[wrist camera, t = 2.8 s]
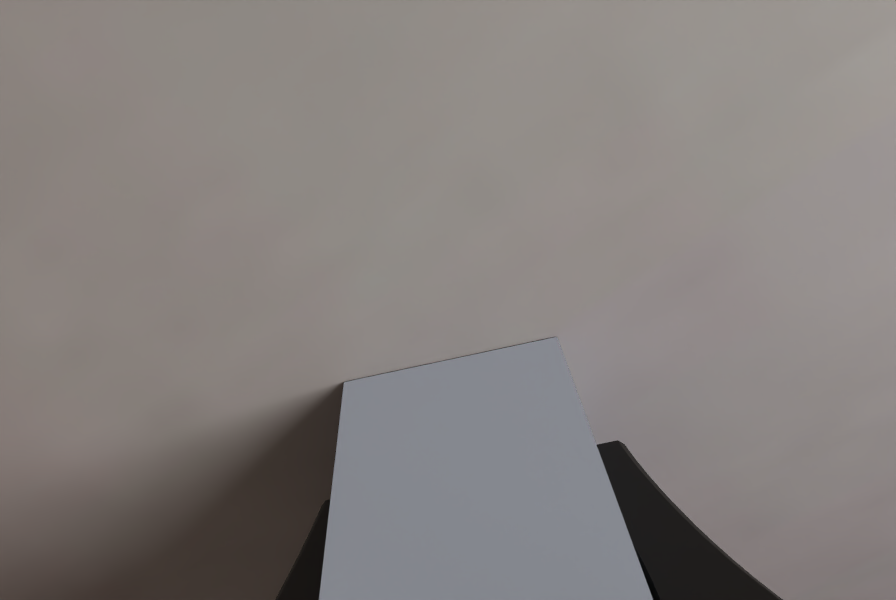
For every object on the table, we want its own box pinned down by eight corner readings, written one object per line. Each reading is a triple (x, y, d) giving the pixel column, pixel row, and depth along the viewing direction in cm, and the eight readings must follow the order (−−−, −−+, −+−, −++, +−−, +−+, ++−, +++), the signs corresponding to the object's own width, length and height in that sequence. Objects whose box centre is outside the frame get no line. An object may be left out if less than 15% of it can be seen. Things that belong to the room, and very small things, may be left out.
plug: (557, 336, 14) (658, 613, 8) (586, 515, 16) (682, 827, 10) (343, 382, 14) (309, 681, 8) (402, 552, 16) (403, 877, 11)
